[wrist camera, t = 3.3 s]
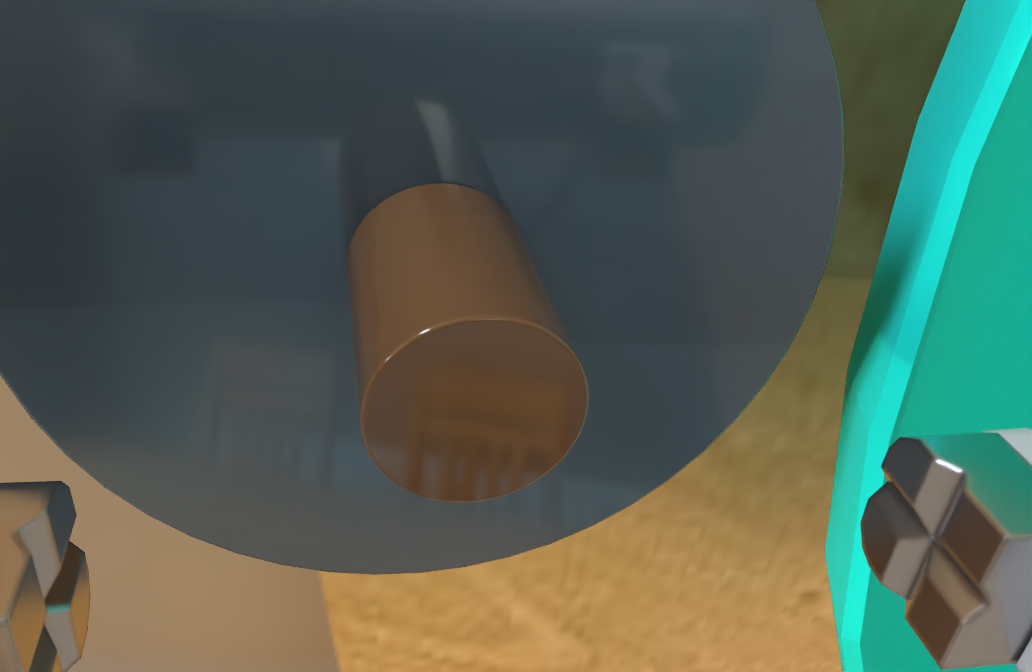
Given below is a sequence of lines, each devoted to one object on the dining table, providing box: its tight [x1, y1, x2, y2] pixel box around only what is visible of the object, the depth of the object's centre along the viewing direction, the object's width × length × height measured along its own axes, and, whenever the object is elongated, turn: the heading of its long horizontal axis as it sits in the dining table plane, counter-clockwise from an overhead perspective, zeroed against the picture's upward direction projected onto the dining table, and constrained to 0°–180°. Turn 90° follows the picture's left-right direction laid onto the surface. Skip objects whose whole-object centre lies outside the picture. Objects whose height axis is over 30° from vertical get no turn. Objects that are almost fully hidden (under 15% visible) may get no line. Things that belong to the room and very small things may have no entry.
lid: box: [0, 0, 844, 575], centre depth 12 cm, size 13×13×5 cm
